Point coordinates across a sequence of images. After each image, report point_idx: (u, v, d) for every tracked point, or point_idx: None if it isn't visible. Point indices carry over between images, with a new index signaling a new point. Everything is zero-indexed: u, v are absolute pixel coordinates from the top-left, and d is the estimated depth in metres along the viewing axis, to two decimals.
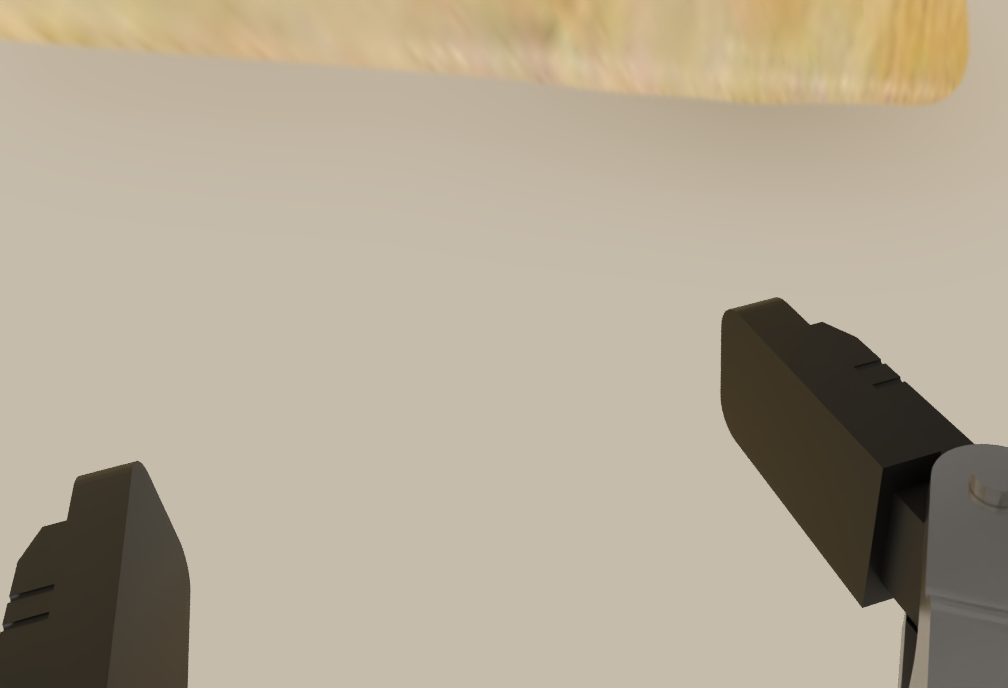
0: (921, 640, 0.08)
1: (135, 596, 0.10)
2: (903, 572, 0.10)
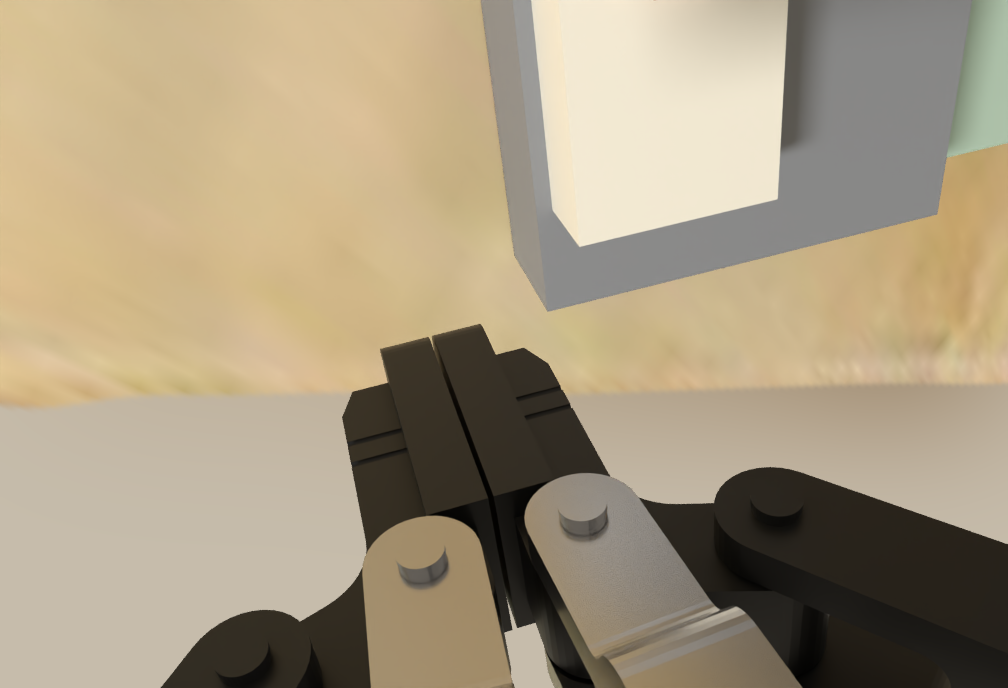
0: None
1: None
2: (531, 596, 0.10)
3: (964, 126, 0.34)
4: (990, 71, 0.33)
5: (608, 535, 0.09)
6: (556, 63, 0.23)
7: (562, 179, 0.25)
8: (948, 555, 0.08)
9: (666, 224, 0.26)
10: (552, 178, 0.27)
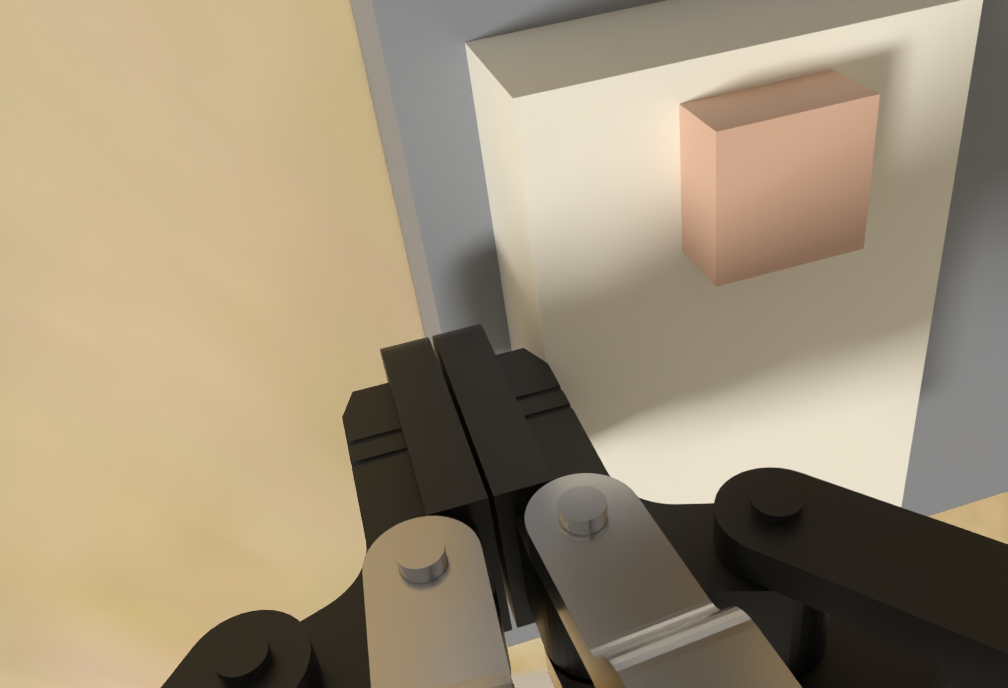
0: None
1: None
2: (532, 595, 0.10)
3: None
4: None
5: (608, 535, 0.09)
6: None
7: None
8: (948, 554, 0.08)
9: None
10: None
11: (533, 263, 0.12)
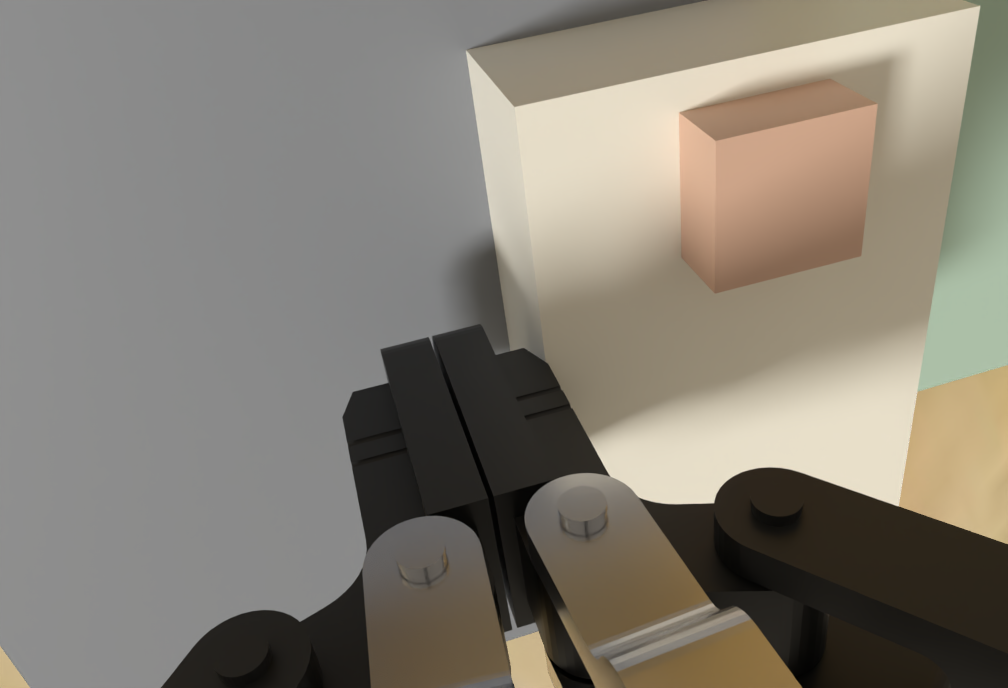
0: None
1: None
2: (531, 596, 0.10)
3: None
4: None
5: (608, 535, 0.09)
6: None
7: None
8: (948, 556, 0.08)
9: None
10: None
11: (534, 270, 0.12)
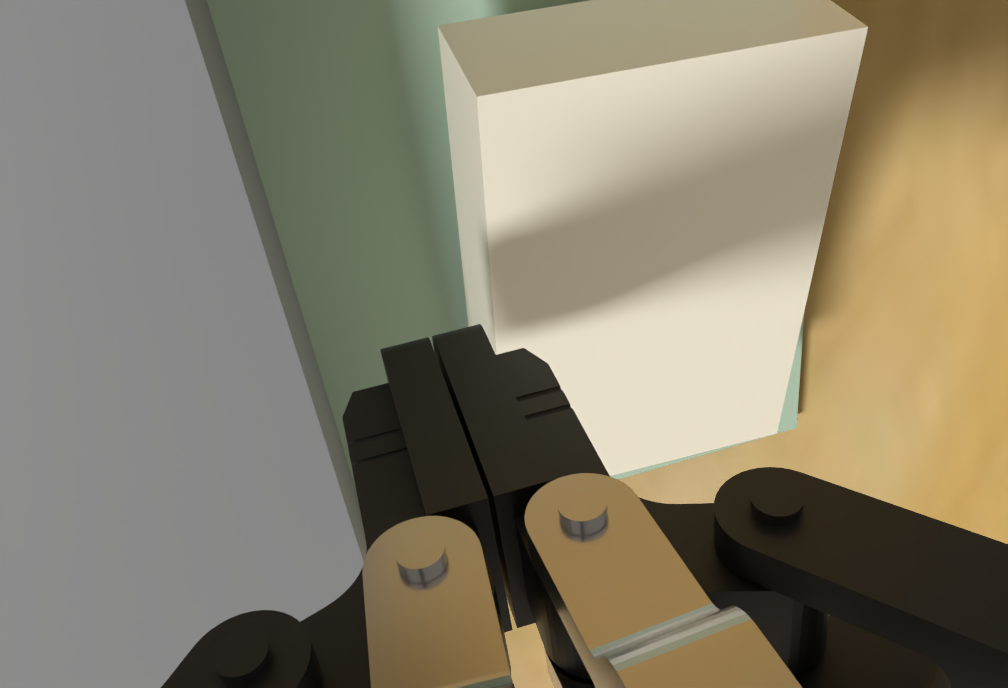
0: None
1: None
2: (532, 595, 0.10)
3: None
4: None
5: (608, 535, 0.09)
6: None
7: None
8: (948, 555, 0.08)
9: None
10: None
11: None
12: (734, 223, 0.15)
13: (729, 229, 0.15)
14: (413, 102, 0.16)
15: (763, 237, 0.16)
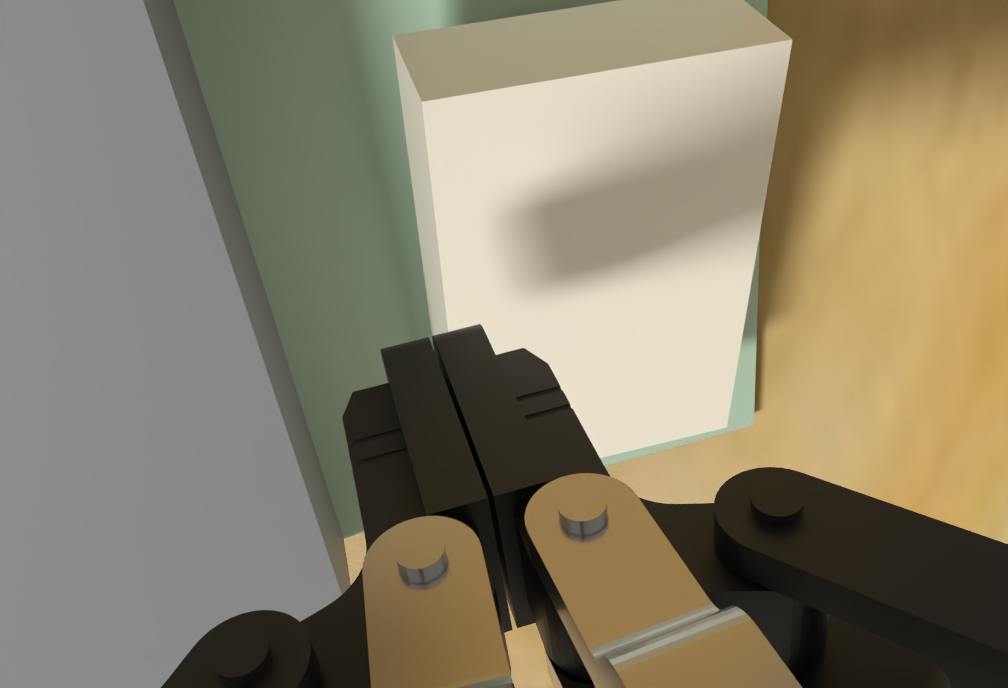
0: None
1: None
2: (532, 595, 0.10)
3: None
4: None
5: (608, 535, 0.09)
6: None
7: None
8: (948, 555, 0.08)
9: None
10: None
11: None
12: (673, 224, 0.16)
13: (669, 229, 0.16)
14: (374, 108, 0.17)
15: (702, 236, 0.17)
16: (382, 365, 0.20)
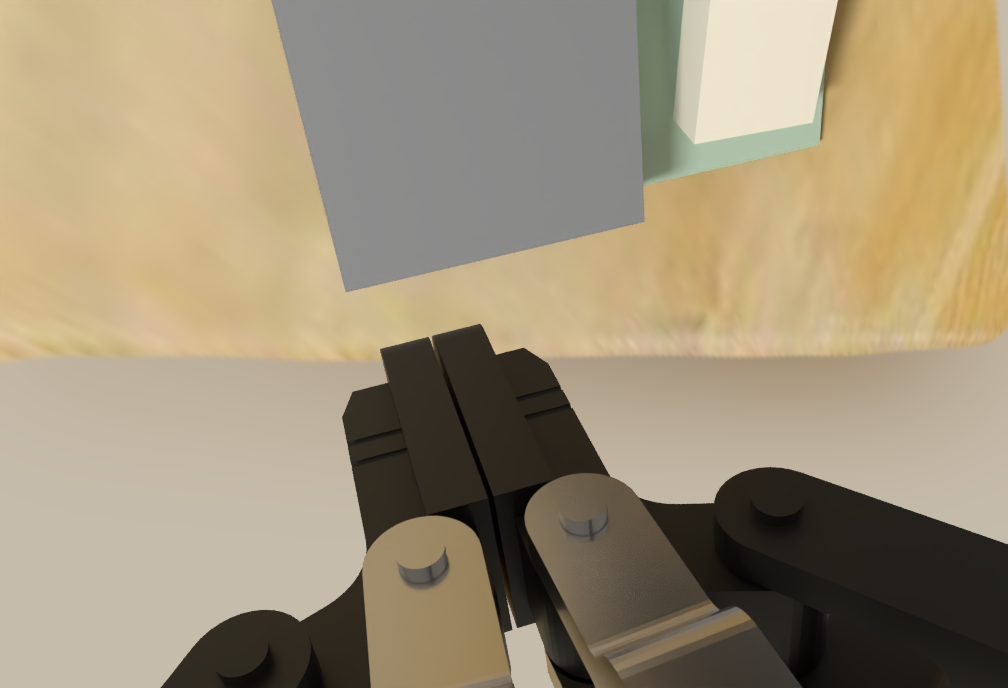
0: None
1: None
2: (531, 595, 0.10)
3: (682, 155, 0.45)
4: None
5: (608, 535, 0.09)
6: None
7: None
8: (950, 555, 0.08)
9: None
10: None
11: None
12: (800, 4, 0.39)
13: (798, 7, 0.39)
14: None
15: (811, 12, 0.39)
16: (650, 91, 0.43)
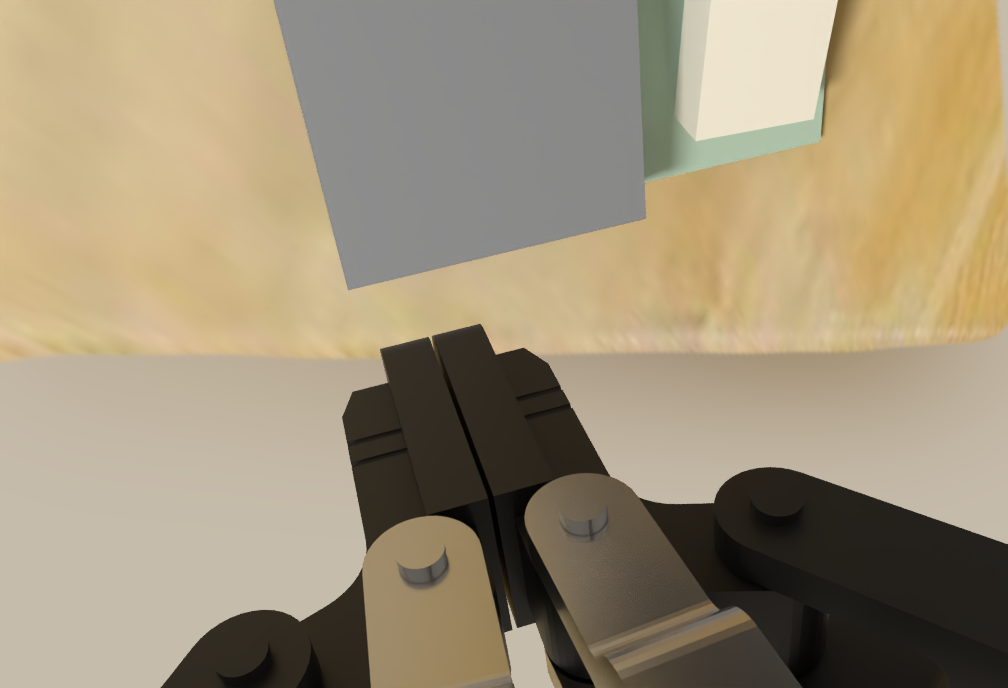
0: None
1: None
2: (531, 595, 0.10)
3: (683, 151, 0.45)
4: None
5: (608, 535, 0.09)
6: None
7: None
8: (948, 555, 0.08)
9: None
10: None
11: None
12: (801, 1, 0.39)
13: (799, 4, 0.39)
14: None
15: (812, 9, 0.39)
16: (651, 88, 0.43)
